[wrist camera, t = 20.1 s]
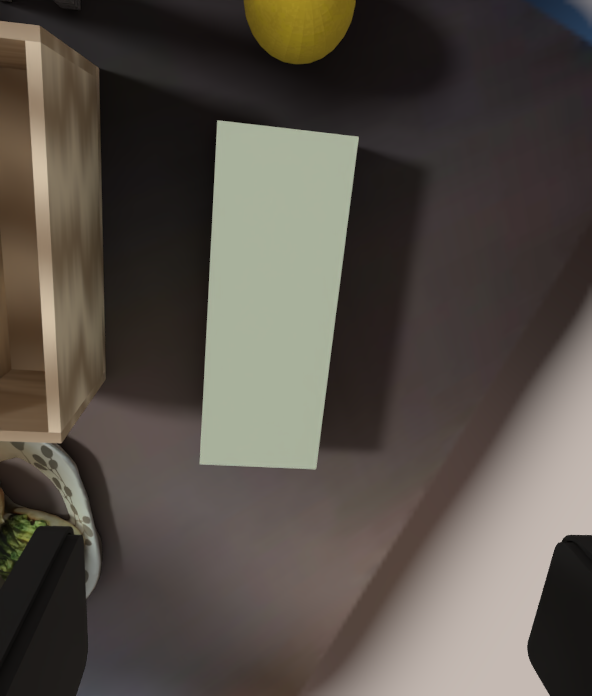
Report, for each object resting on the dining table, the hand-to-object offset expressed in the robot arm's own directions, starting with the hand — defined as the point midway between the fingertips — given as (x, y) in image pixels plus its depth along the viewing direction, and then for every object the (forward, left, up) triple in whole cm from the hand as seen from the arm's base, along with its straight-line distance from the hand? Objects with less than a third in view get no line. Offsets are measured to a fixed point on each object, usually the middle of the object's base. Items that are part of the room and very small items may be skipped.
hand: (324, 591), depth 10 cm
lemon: (+16, 0, -26) cm, 31 cm away
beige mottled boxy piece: (+3, +14, -26) cm, 30 cm away
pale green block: (0, 0, -26) cm, 26 cm away
